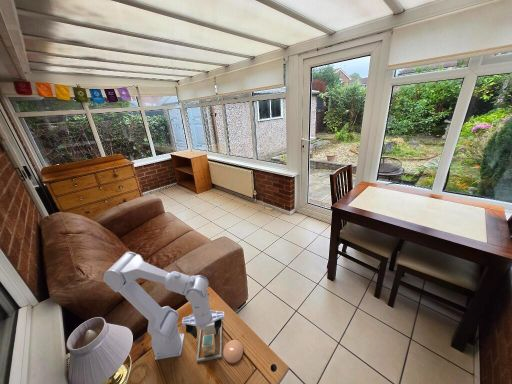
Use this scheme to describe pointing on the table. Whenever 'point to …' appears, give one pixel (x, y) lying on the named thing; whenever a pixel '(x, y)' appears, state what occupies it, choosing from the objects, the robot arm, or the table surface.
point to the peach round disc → (233, 351)
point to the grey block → (210, 329)
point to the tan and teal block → (208, 345)
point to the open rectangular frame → (210, 356)
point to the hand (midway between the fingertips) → (206, 334)
